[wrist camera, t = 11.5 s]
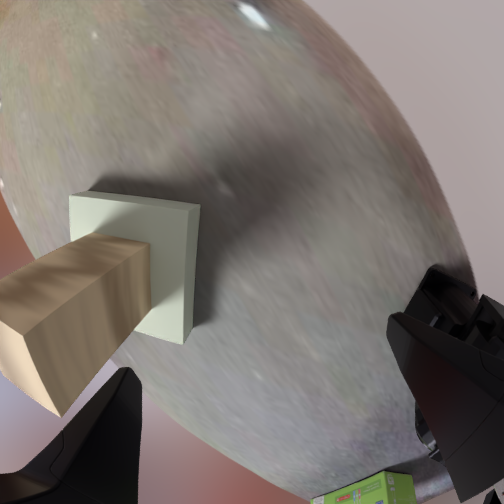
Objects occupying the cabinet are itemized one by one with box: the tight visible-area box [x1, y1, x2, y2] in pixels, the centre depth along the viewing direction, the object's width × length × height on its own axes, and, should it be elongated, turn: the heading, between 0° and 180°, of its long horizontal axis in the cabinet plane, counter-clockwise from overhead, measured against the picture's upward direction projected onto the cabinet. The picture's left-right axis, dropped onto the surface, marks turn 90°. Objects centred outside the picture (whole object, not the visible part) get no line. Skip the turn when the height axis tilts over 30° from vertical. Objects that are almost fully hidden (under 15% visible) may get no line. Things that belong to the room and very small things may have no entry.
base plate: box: [69, 191, 201, 345], centre depth 21 cm, size 11×11×2 cm
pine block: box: [0, 232, 152, 418], centre depth 14 cm, size 6×6×12 cm
